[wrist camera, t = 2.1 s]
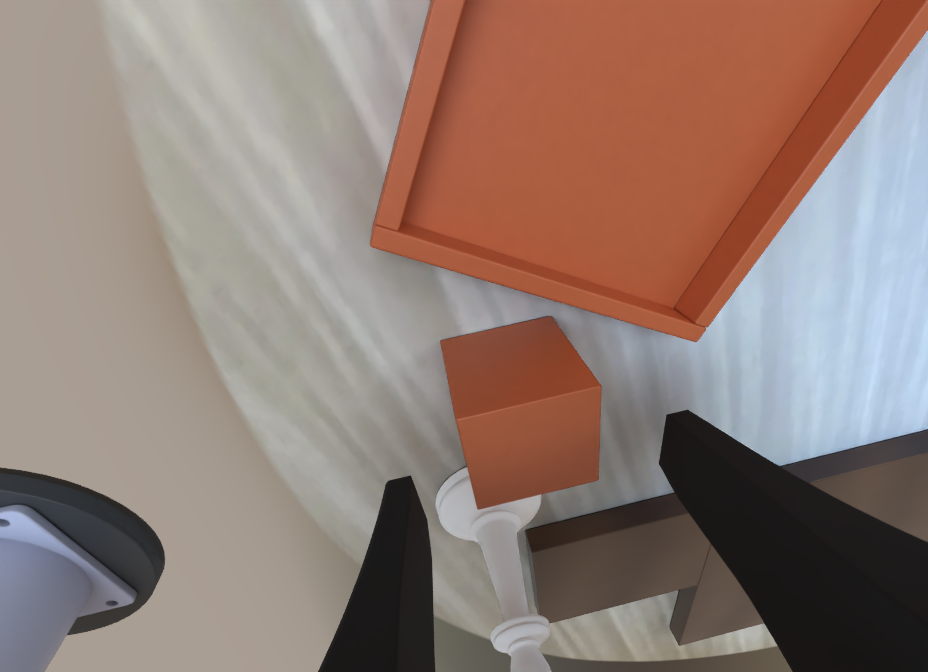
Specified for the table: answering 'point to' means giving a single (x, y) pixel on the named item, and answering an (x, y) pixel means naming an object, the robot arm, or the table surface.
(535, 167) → the clay tray
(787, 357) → the table surface
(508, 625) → the chess piece
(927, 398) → the table surface
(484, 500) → the terracotta block
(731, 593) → the walnut board
